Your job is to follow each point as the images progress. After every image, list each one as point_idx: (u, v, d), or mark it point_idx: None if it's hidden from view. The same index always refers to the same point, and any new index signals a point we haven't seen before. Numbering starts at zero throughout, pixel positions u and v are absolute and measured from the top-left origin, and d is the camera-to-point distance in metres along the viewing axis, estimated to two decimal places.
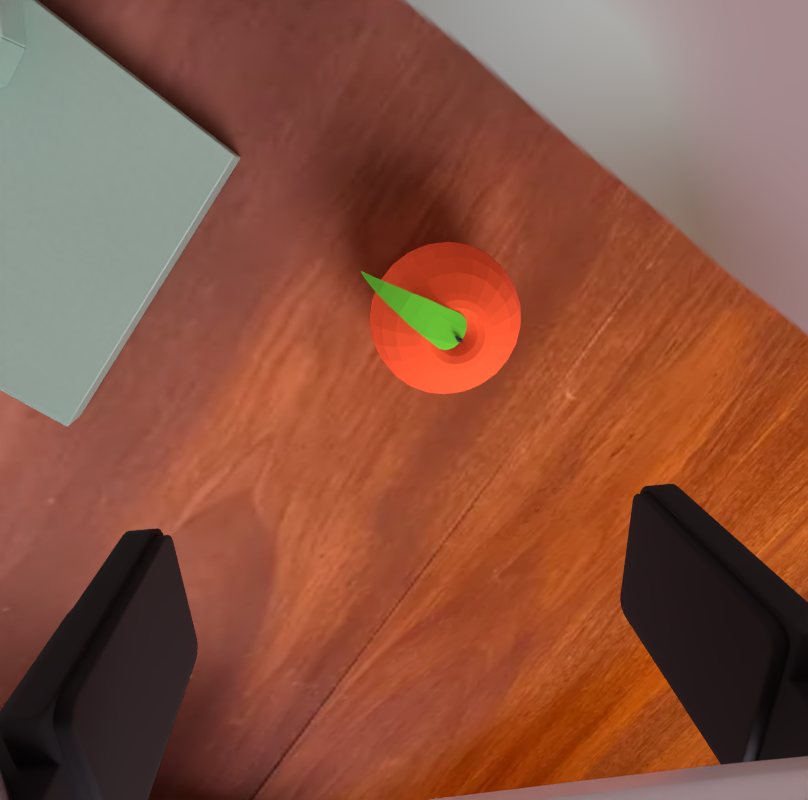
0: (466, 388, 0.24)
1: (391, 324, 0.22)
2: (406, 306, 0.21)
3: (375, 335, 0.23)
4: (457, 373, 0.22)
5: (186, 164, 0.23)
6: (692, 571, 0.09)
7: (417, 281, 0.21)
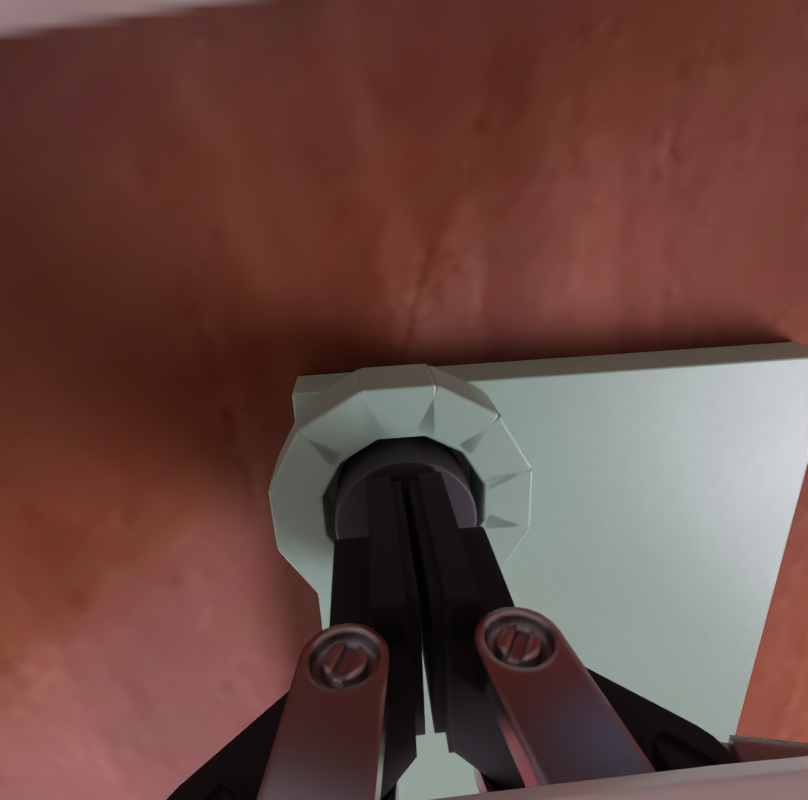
0: None
1: None
2: None
3: None
4: None
5: (771, 415, 0.14)
6: (418, 549, 0.09)
7: None
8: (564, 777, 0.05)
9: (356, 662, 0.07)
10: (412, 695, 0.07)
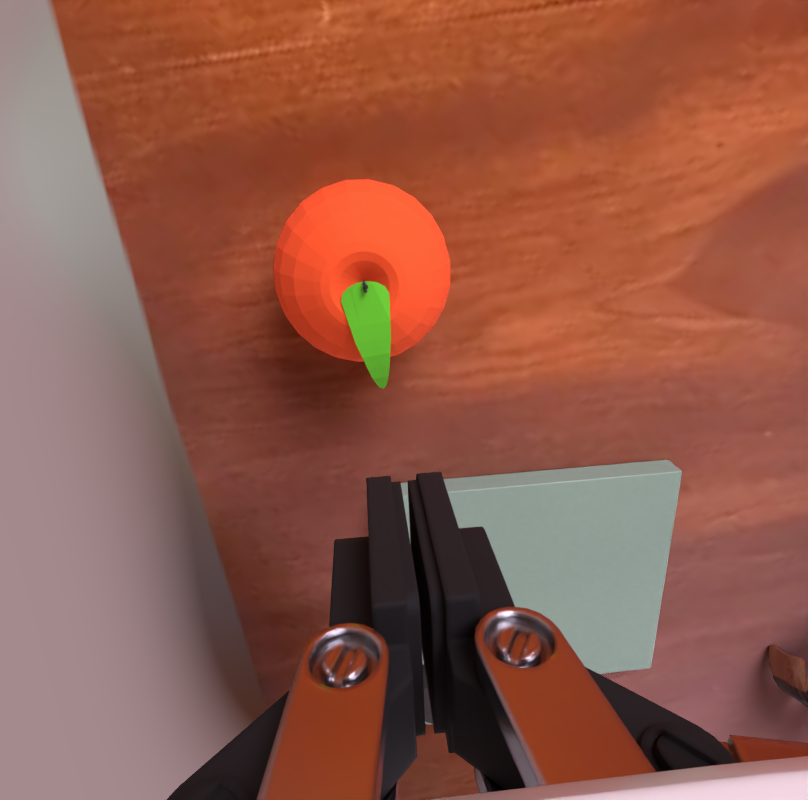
0: (407, 212, 0.18)
1: (404, 341, 0.20)
2: (377, 352, 0.19)
3: (426, 332, 0.21)
4: (399, 250, 0.18)
5: None
6: (418, 549, 0.09)
7: (349, 351, 0.20)
8: (563, 777, 0.05)
9: (356, 662, 0.07)
10: (412, 695, 0.07)
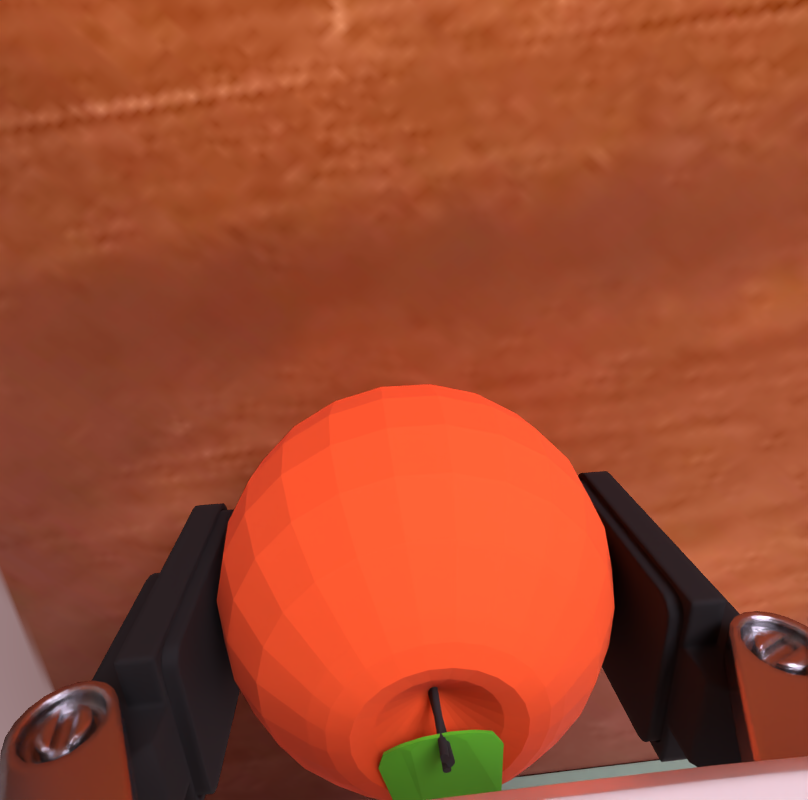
0: (544, 518, 0.07)
1: None
2: None
3: None
4: (534, 649, 0.07)
5: None
6: (612, 550, 0.09)
7: None
8: None
9: (76, 729, 0.06)
10: (155, 761, 0.07)
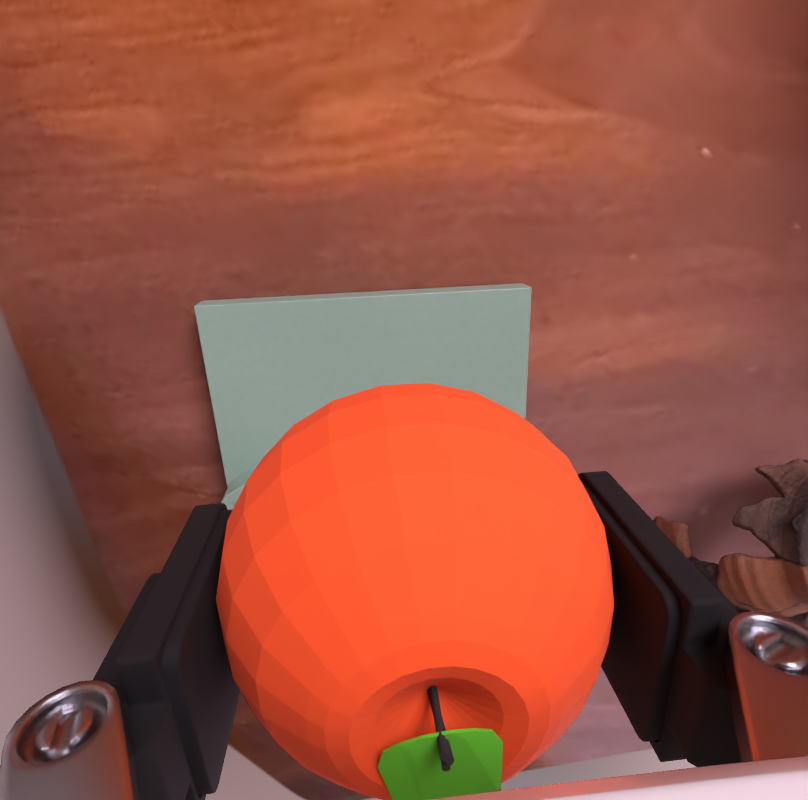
0: (544, 516, 0.07)
1: None
2: None
3: None
4: (534, 648, 0.07)
5: (233, 334, 0.25)
6: (611, 550, 0.09)
7: None
8: None
9: (77, 729, 0.06)
10: (156, 761, 0.07)
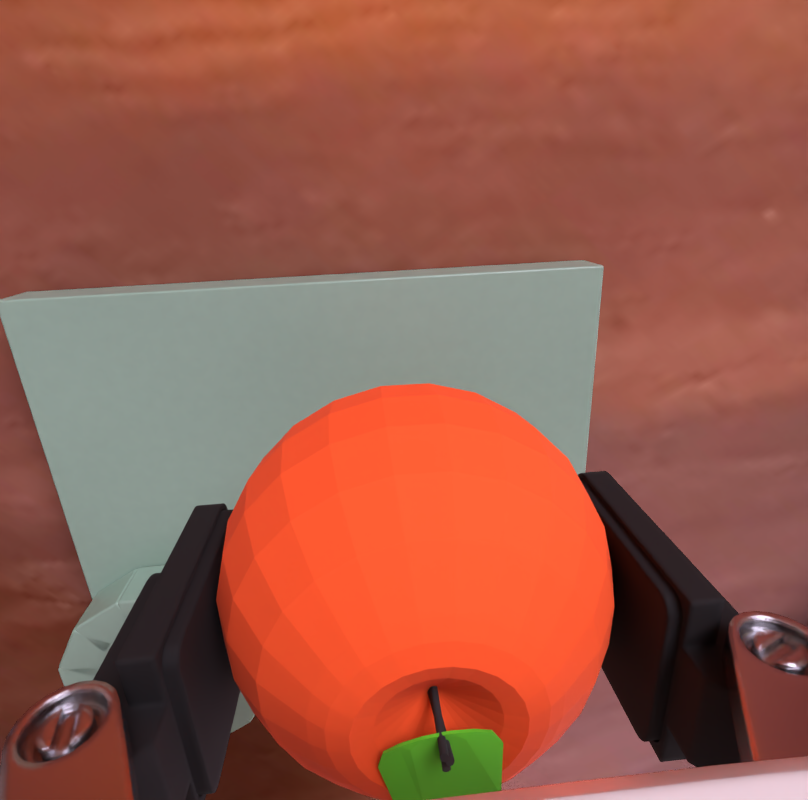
0: (544, 517, 0.07)
1: None
2: None
3: None
4: (534, 648, 0.07)
5: (73, 351, 0.14)
6: (611, 550, 0.09)
7: None
8: None
9: (77, 729, 0.06)
10: (156, 761, 0.07)
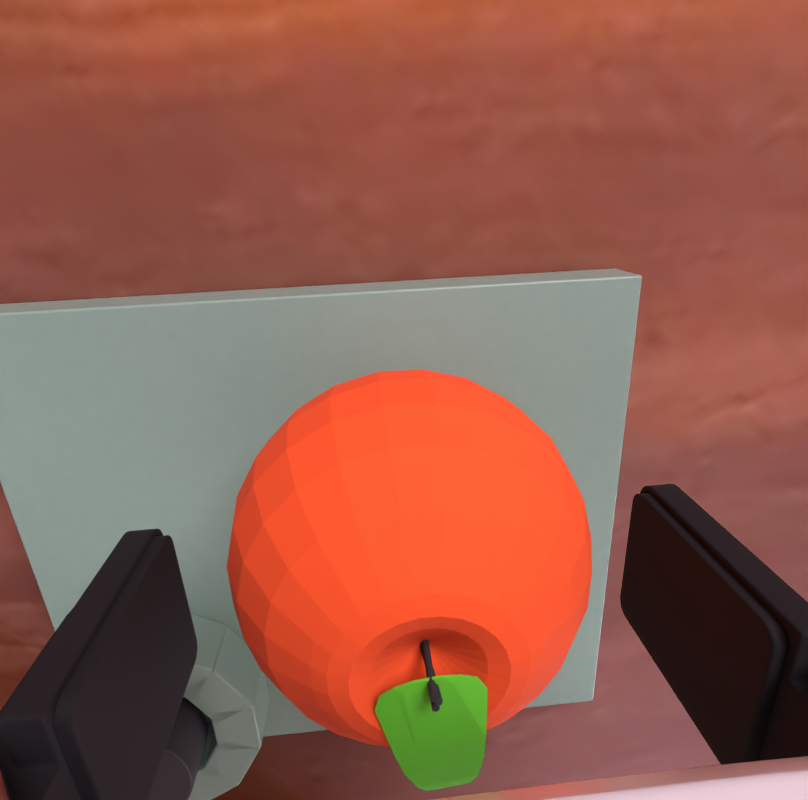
0: (525, 486, 0.08)
1: None
2: (450, 778, 0.09)
3: None
4: (515, 601, 0.07)
5: (32, 374, 0.12)
6: (692, 571, 0.09)
7: None
8: None
9: None
10: None
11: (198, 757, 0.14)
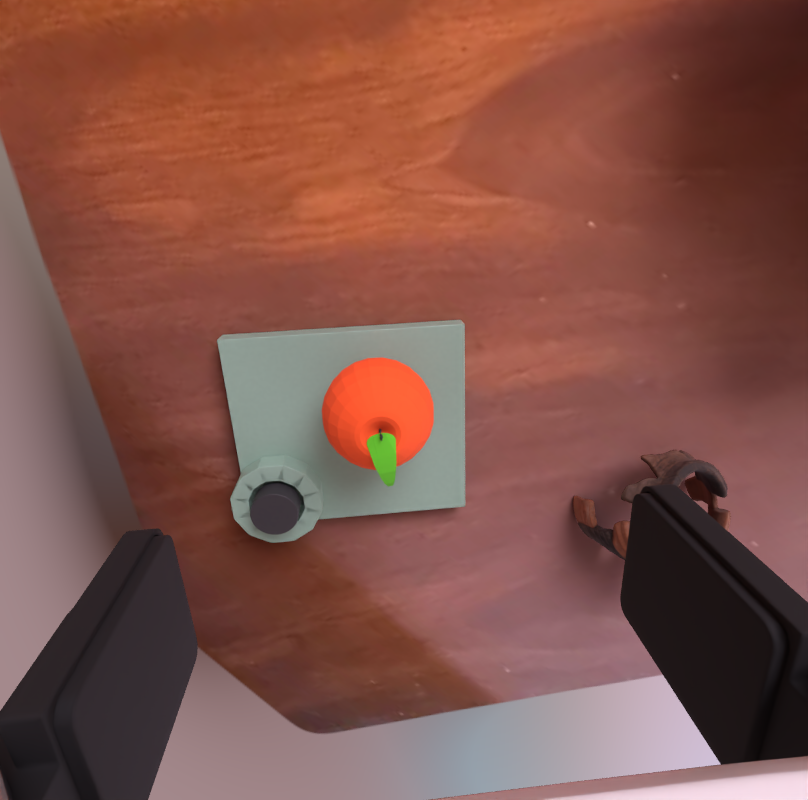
0: (406, 387, 0.30)
1: (404, 460, 0.31)
2: (388, 471, 0.31)
3: None
4: (401, 414, 0.29)
5: (245, 360, 0.34)
6: (692, 571, 0.09)
7: (370, 467, 0.31)
8: None
9: None
10: None
11: (299, 509, 0.36)
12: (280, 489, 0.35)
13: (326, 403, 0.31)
